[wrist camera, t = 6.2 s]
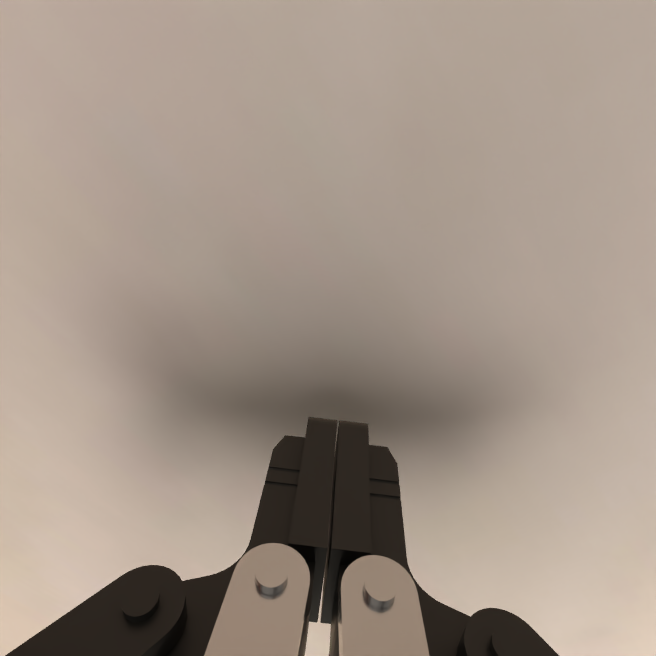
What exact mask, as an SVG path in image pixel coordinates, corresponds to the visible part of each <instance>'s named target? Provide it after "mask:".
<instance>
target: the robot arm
mask: <svg viewBox="0 0 656 656" xmlns="http://www.w3.org/2000/svg"><path fill="white" fill-rule="evenodd" d="M336 429H337V420H330V419H321V418H312V417H309V419H308V425H307V431H306V437H305V438H303V437H294V436H286V435H285V436H284V438H283V439H282V440H281V441H280V442H279V443H278V444H277V446H276V447H275V448H274V449H273V452H272V456H271V460H270V464H269V470H268V472H267V476H266V480H265V485H264V488H263V492H262V496H261V500H260V504H259V508H258V512H257V516H256V520H255V524H254V528H253V532H252V536H251V540H250V543H249V546H248V547H247V549H246V551H245V553H244V554H243V555H242V557H241V558H240V559H239V560H238V561H237V562H236V563H234V564H233V565H232V566H231V567H229V568H227V569H226V570H224V571H221V572H219V573H217V574H213V575H210V576H205V577H200V578H195V579H190V580H185V581H182V580H181V579H180V577H179V576H178V575H177V574H176V573H175V572H174V571H172V570H171V569H169V568H166V567H164V566H158V565H149V566H142V567H139V568H136V569H133V570H131V571H129V572H127V573H125V574H124V575H122V576H121V577H119V578H118V579H116V580H115V581H113V582H112V583H110V584H109V585H107V586H106V587H105V588H103V589H102V590H100V591H99V592H97V593H96V594H94V595H93V596H91V597H90V598H89V599H87V600H86V601H84V602H83V603H81V604H80V605H78V606H77V607H75V608H74V609H73V610H71V611H70V612H68V613H67V614H65V615H64V616H62V617H61V618H59V619H58V620H57V621H55V622H54V623H52V624H51V625H49V626H48V627H46V628H45V629H43V630H42V631H40V632H39V633H38V634H36V635H35V636H33V637H32V638H30V639H29V640H27V641H26V642H24V643H23V644H22V645H20V646H19V647H17V648H16V649H14V650H13V651H11V652H10V653H8V654H7V655H6V656H304V655H305V649H306V641H307V633H308V625H309V621H310V622H317V621H318V613H319V606H320V599H321V592H322V585H323V597H322V610H321V623H329V624H331V634H330V651H329V656H559V655H558V654H557V653H556V652H555V651H554V650H553V649H552V648H551V647H550V646H549V645H548V644H547V643H546V642H545V641H544V640H543V639H542V638H541V637H540V636H539V635H538V634H537V633H536V632H535V631H534V630H533V629H532V628H531V627H530V626H529V625H528V624H527V623H526V622H525V621H523V620H522V619H521V618H519V617H518V616H516V615H514V614H512V613H510V612H508V611H505V610H502V609H497V608H486V609H482V610H479V611H477V612H476V613H474V614H473V615H472V616H471V617H470V616H468V615H466V614H463V613H461V612H459V611H457V610H455V609H453V608H451V607H448V606H446V605H444V604H442V603H440V602H438V601H436V600H435V599H433V598H432V597H431V596H429V595H428V594H427V593H426V592H425V591H424V590H423V589H422V588H421V587H420V586H419V585H418V584H417V582H416V581H415V579H414V578H413V576H412V574H411V572H410V570H409V567H408V563H407V557H406V547H405V537H404V527H403V517H402V507H401V501H400V487H399V477H398V467H397V462H396V461H395V459H394V458H393V456H392V454H391V453H390V451H389V449H388V448H387V447H381V446H373V445H369V436H368V424H365V423H357V422H348V421H339V426H338V434H337V441H336ZM335 442H336V449H335ZM334 456H335V457H334ZM323 578H324V584H323Z"/></svg>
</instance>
